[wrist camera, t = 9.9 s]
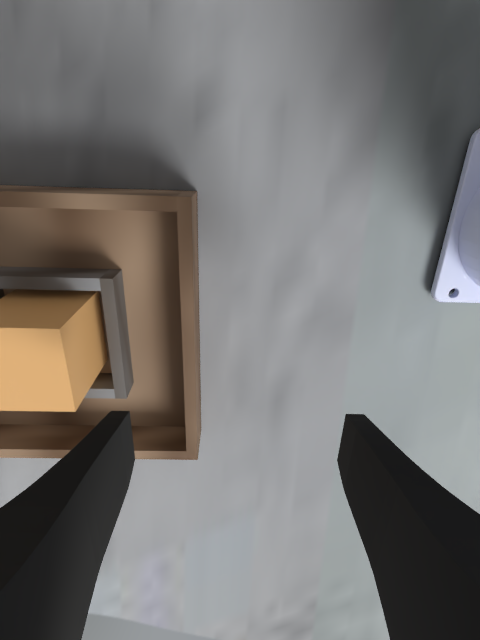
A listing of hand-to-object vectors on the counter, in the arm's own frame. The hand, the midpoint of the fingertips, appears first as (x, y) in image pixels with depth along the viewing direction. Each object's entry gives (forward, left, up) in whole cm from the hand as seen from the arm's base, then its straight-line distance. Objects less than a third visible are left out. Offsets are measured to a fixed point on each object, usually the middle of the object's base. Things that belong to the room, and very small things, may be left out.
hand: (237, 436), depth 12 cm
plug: (+9, 0, -8) cm, 12 cm away
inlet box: (+9, 0, -8) cm, 12 cm away
